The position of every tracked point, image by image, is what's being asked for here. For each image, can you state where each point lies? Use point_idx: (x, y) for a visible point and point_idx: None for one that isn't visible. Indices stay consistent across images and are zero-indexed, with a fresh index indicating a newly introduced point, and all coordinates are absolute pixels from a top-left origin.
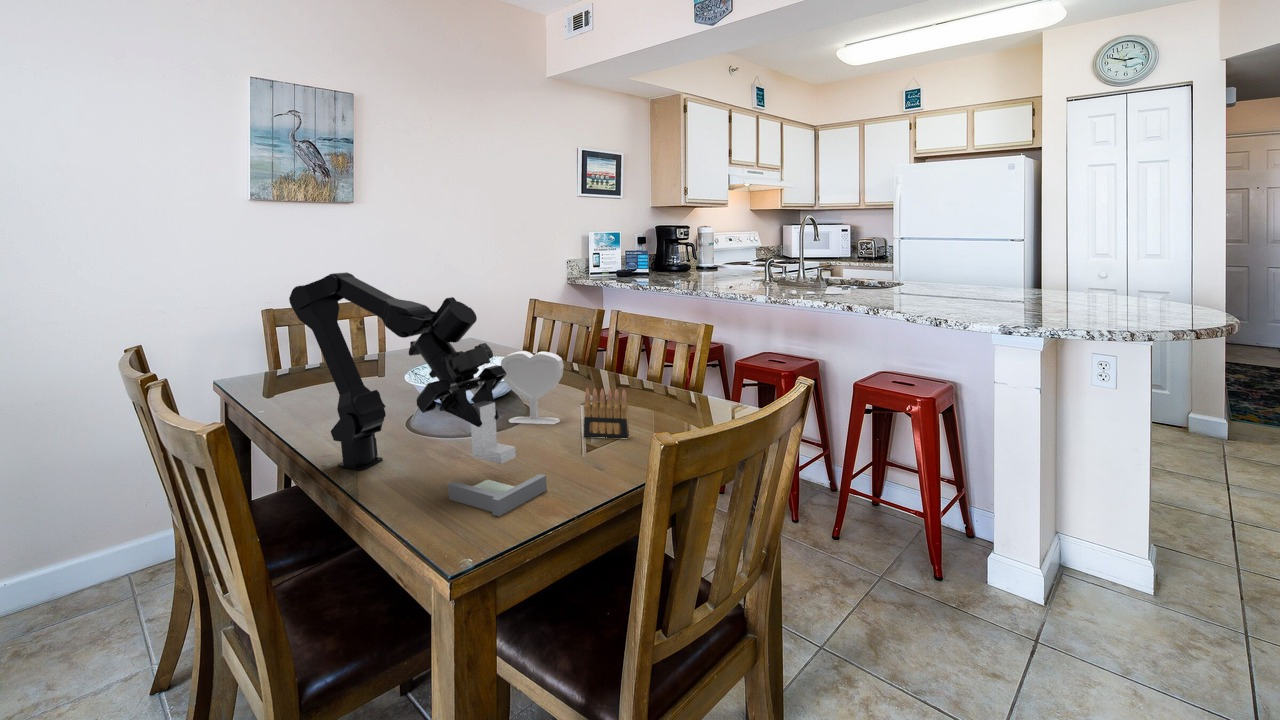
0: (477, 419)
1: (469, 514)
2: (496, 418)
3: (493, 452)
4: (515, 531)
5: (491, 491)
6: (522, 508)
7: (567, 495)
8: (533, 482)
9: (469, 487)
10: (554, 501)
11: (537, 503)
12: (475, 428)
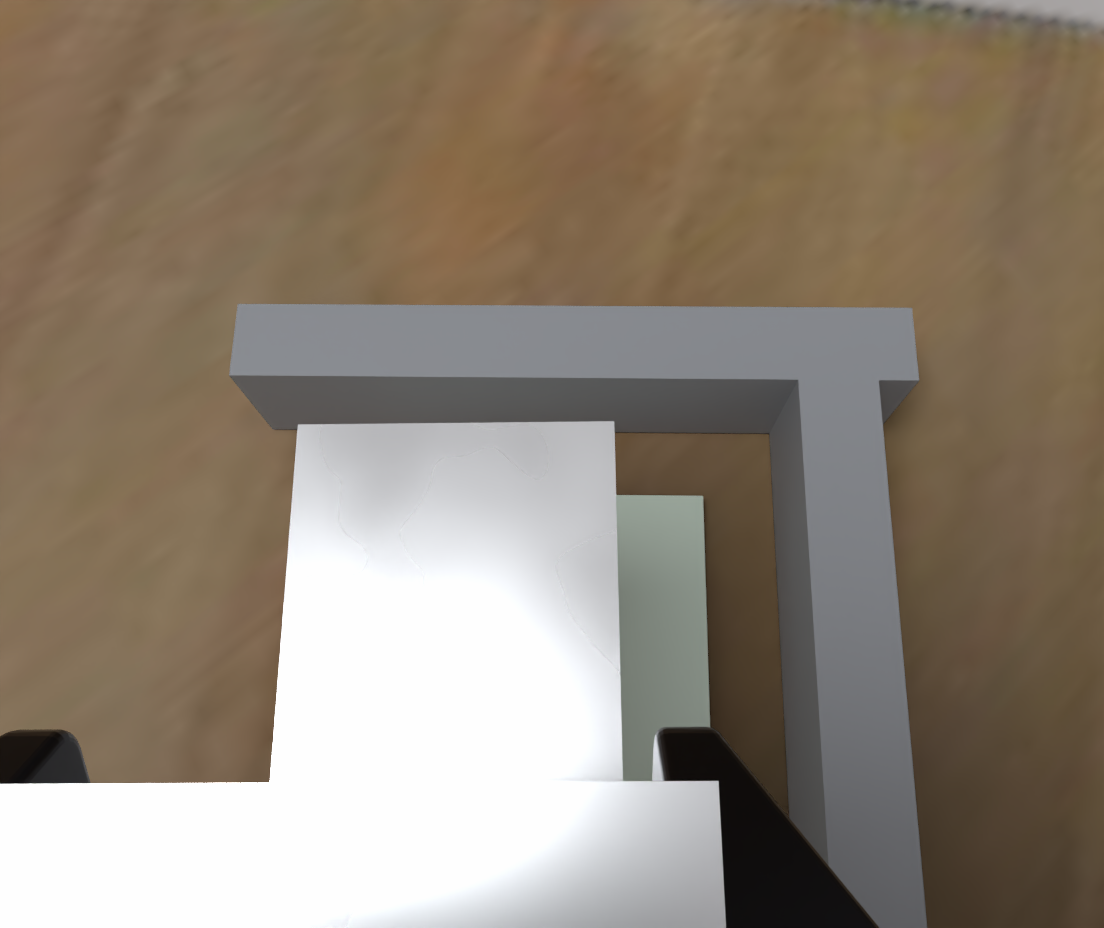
0: (781, 814)
1: (981, 604)
2: (74, 765)
3: (616, 560)
4: (962, 135)
5: (804, 492)
6: None
7: (293, 179)
8: (428, 306)
9: (864, 760)
10: (432, 196)
11: (525, 278)
12: None
